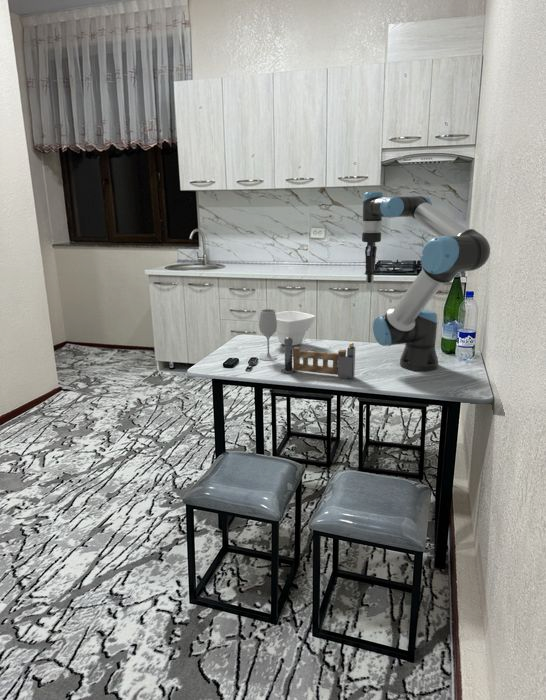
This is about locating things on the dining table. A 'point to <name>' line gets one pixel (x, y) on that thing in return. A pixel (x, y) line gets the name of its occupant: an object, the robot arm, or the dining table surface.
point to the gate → (316, 361)
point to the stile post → (347, 363)
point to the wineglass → (268, 329)
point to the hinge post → (288, 356)
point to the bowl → (293, 325)
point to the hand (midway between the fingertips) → (369, 290)
